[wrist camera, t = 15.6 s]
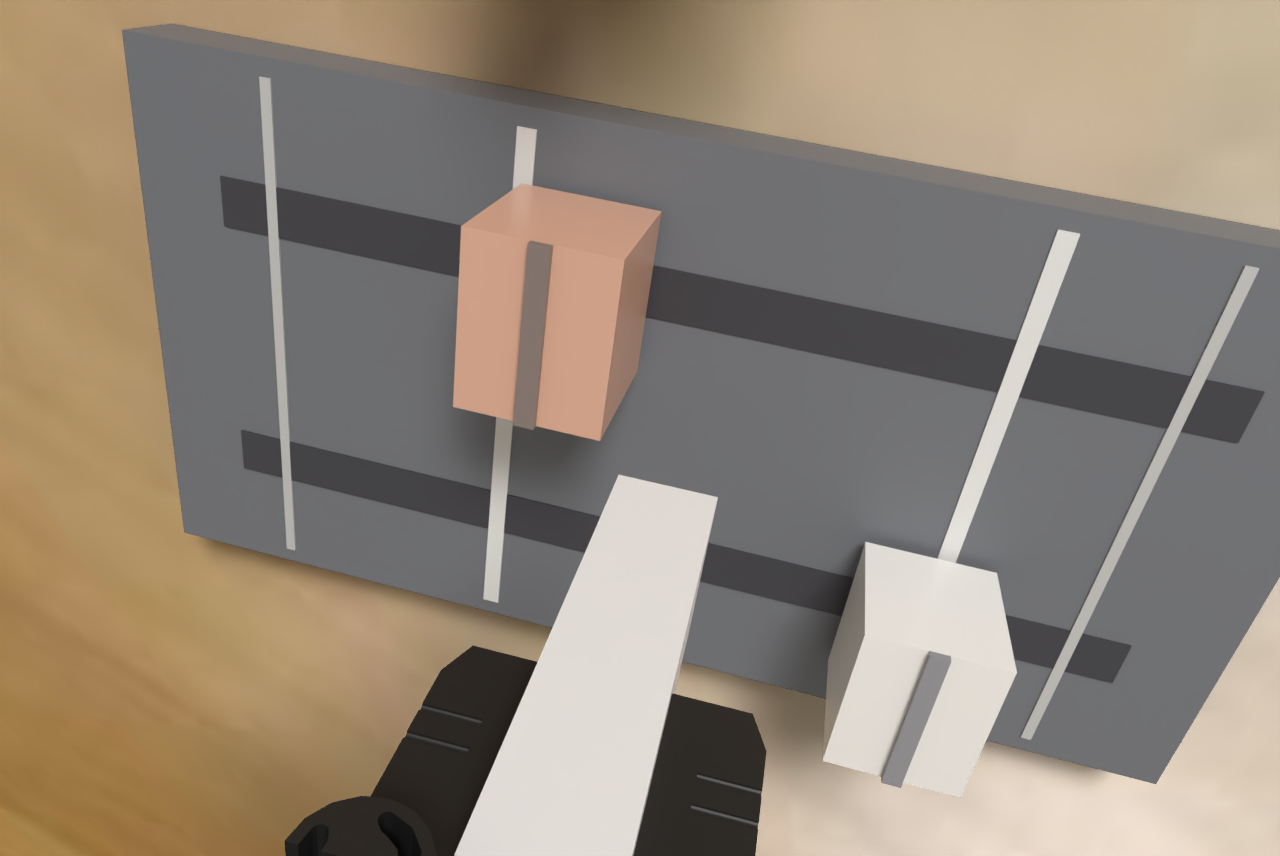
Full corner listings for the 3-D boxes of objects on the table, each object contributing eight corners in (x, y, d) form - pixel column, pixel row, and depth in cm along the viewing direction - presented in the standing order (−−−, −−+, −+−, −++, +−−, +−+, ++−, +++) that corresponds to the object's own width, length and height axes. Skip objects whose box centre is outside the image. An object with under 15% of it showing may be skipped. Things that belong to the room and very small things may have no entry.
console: (219, 501, 34) (183, 533, 32) (171, 23, 26) (120, 30, 24) (1139, 734, 30) (1156, 785, 28) (1409, 254, 22) (1457, 282, 20)
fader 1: (509, 343, 25) (449, 410, 22) (521, 183, 23) (457, 228, 20) (637, 371, 25) (597, 445, 21) (661, 211, 23) (622, 262, 19)
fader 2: (828, 659, 28) (822, 767, 24) (865, 541, 26) (865, 640, 22) (949, 690, 28) (961, 804, 24) (997, 573, 26) (1018, 678, 22)
